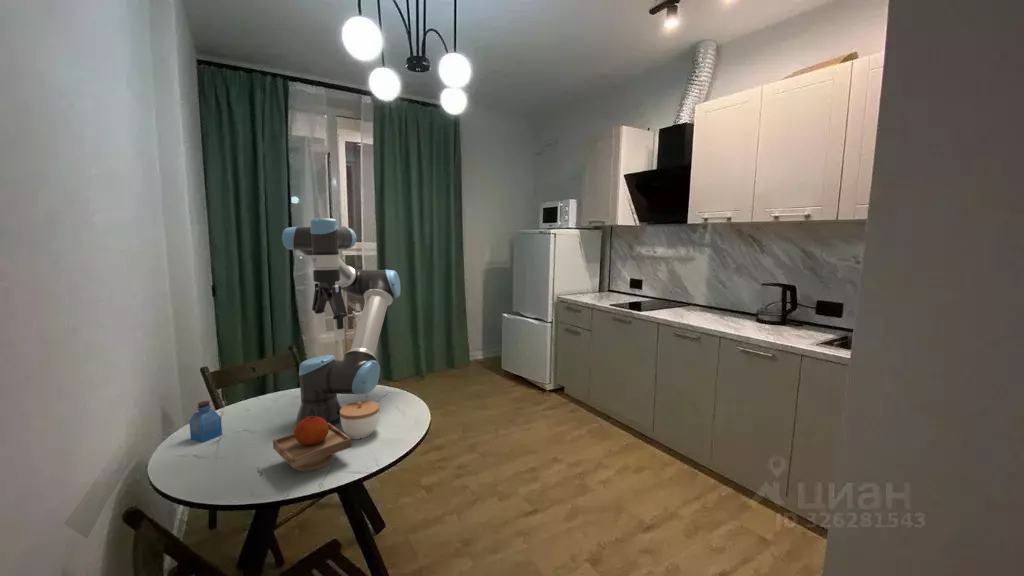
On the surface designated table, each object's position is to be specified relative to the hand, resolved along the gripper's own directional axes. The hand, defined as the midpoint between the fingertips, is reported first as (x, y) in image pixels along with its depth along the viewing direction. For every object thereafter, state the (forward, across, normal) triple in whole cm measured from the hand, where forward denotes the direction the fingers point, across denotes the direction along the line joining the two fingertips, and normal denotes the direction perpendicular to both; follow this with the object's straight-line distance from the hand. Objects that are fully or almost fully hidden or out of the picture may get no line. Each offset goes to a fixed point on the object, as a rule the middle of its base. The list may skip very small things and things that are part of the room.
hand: (330, 336), depth 128 cm
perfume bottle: (+35, -35, -28) cm, 57 cm away
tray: (+35, +8, -10) cm, 37 cm away
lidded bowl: (+35, +1, +8) cm, 36 cm away
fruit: (+29, +8, -10) cm, 32 cm away
